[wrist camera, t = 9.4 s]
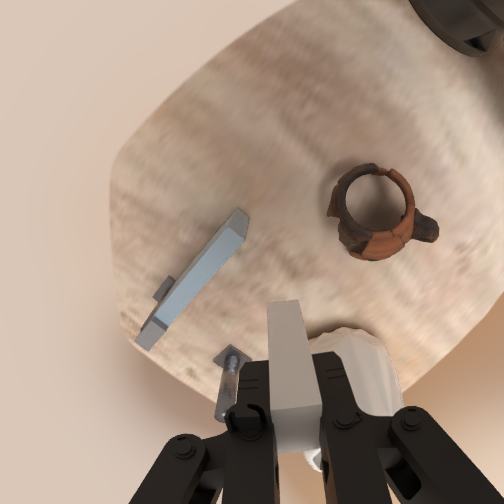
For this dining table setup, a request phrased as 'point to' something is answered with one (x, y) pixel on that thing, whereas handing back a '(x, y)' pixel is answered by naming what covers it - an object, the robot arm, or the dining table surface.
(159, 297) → the hinge post
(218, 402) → the post
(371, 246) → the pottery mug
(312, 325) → the dining table surface
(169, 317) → the gate
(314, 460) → the vase
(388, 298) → the dining table surface
